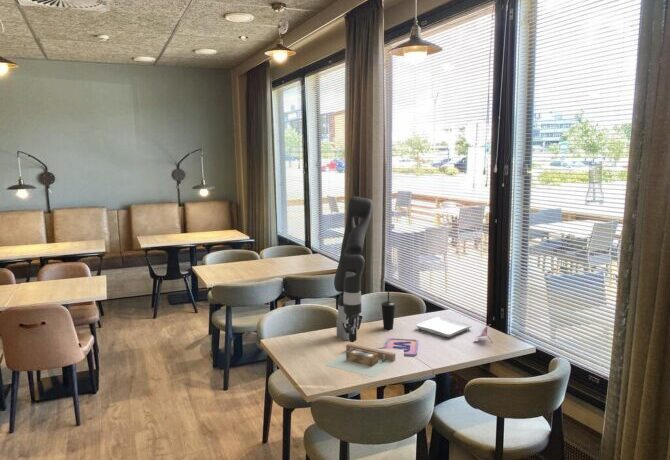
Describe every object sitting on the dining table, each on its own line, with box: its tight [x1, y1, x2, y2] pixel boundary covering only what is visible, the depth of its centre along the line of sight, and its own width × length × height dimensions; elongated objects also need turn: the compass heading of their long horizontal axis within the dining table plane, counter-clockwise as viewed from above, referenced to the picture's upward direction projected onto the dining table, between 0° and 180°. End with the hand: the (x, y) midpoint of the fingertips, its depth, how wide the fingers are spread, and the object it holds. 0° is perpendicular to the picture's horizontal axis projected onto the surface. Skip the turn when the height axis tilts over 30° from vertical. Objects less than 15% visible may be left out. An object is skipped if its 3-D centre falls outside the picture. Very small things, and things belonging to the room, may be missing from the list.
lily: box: [473, 325, 493, 343], centre depth 248 cm, size 12×12×10 cm
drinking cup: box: [380, 290, 397, 331], centre depth 268 cm, size 8×8×20 cm
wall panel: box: [325, 343, 396, 378], centre depth 223 cm, size 24×20×4 cm
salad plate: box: [415, 315, 473, 338], centre depth 265 cm, size 21×21×3 cm
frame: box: [345, 348, 378, 367], centre depth 224 cm, size 13×6×4 cm, turn 58°
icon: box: [374, 337, 419, 357], centre depth 243 cm, size 19×2×20 cm
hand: (352, 341), depth 216 cm, fingers closed
